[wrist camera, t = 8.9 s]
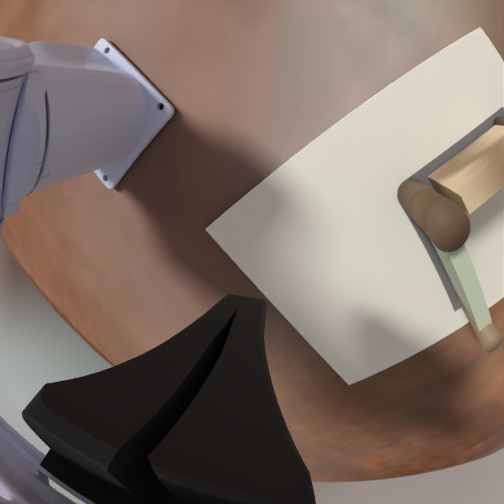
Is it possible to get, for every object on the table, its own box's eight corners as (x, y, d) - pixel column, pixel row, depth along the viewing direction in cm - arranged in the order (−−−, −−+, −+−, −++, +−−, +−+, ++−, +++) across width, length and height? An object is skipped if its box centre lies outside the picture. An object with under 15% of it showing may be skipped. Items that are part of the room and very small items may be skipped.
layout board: (207, 227, 19) (205, 229, 19) (477, 28, 9) (480, 26, 9) (348, 382, 23) (348, 385, 22) (562, 239, 12) (565, 241, 12)
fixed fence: (407, 216, 16) (442, 260, 10) (391, 189, 15) (423, 224, 10) (512, 136, 11) (569, 150, 6) (499, 109, 11) (557, 113, 6)
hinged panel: (416, 221, 15) (450, 263, 10) (433, 208, 15) (474, 245, 10) (458, 303, 17) (485, 356, 12) (472, 293, 16) (503, 343, 11)
